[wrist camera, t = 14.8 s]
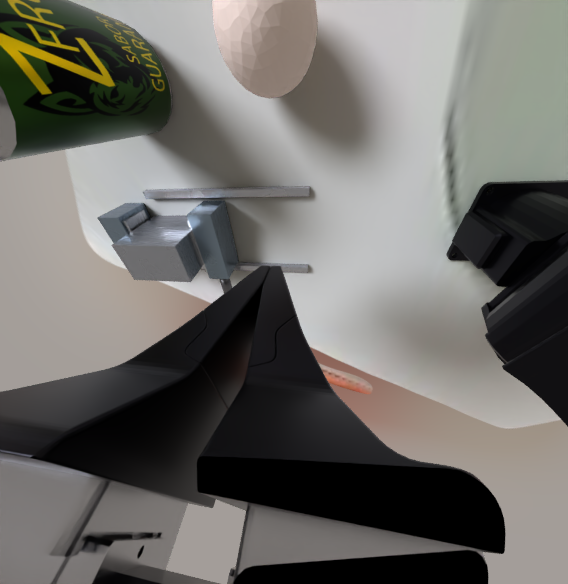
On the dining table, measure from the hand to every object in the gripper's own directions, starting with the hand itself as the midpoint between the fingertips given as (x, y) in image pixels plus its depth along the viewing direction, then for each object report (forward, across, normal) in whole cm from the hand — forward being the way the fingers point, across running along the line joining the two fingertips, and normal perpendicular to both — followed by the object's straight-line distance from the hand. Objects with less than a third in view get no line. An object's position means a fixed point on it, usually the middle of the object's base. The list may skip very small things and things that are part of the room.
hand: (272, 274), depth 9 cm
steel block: (+12, +12, +4) cm, 17 cm away
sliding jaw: (+12, +8, +6) cm, 15 cm away
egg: (+12, +1, -8) cm, 15 cm away
